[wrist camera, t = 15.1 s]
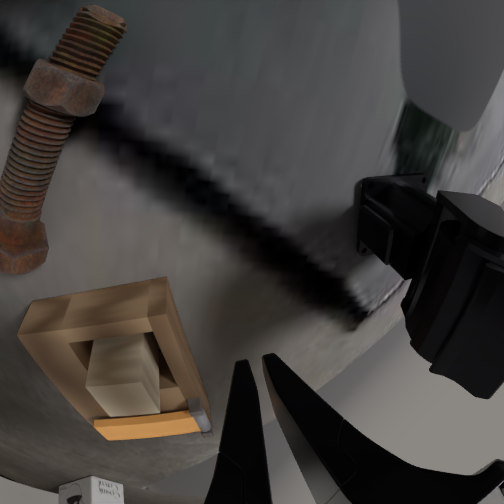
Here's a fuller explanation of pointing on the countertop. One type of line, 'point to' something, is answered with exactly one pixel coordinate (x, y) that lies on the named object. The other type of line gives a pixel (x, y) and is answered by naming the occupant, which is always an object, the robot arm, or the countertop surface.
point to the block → (106, 326)
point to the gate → (152, 425)
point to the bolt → (50, 131)
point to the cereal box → (91, 492)
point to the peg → (125, 374)
